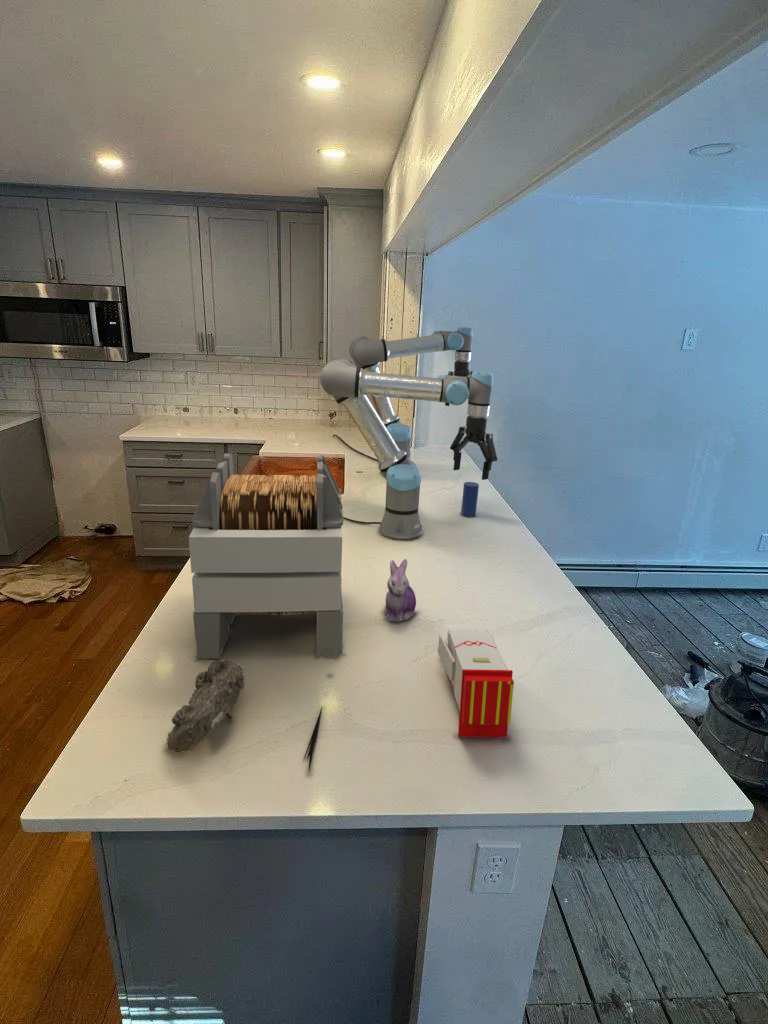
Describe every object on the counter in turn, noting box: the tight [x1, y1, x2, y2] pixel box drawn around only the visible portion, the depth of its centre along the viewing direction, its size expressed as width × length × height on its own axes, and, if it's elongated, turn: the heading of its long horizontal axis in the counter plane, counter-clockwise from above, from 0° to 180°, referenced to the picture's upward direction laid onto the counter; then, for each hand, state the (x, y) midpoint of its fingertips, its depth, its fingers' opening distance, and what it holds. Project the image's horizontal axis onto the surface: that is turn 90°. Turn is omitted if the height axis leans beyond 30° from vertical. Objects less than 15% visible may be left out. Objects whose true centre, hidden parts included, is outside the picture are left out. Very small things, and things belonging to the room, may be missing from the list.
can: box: [460, 481, 480, 518], centre depth 220 cm, size 6×6×13 cm
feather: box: [301, 673, 332, 771], centre depth 108 cm, size 2×28×2 cm
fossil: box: [166, 658, 245, 754], centre depth 106 cm, size 22×10×15 cm
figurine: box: [384, 558, 417, 623], centre depth 145 cm, size 9×10×15 cm
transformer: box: [188, 452, 345, 660], centre depth 135 cm, size 34×33×41 cm
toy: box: [437, 628, 515, 738], centre depth 117 cm, size 12×13×30 cm
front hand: (470, 474), depth 207 cm, fingers open, 13 cm apart
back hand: (458, 405), depth 280 cm, fingers open, 13 cm apart
